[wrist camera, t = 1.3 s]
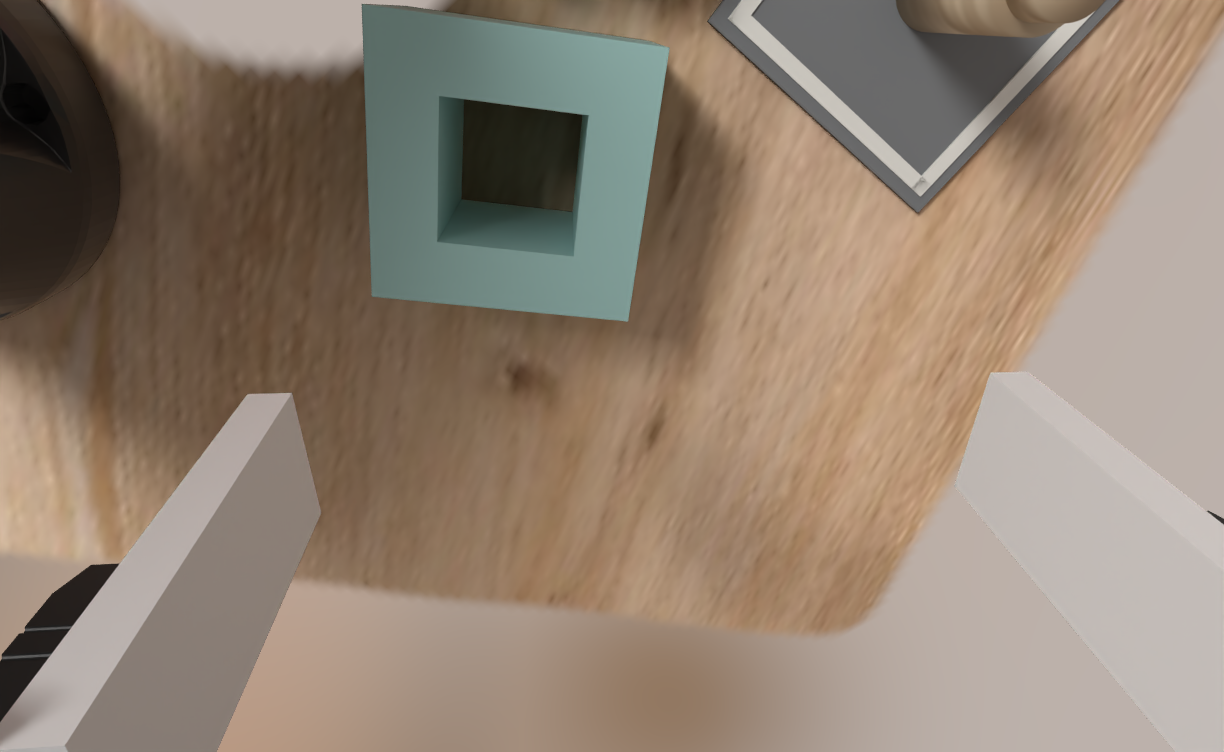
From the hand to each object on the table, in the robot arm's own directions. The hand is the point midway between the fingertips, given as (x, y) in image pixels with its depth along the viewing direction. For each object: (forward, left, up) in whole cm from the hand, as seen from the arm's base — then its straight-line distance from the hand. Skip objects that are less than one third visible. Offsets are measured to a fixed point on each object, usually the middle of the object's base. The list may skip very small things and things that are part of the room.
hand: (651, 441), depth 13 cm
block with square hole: (-4, 0, -18) cm, 18 cm away
